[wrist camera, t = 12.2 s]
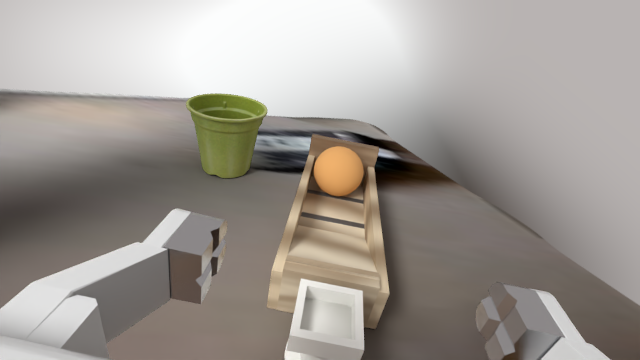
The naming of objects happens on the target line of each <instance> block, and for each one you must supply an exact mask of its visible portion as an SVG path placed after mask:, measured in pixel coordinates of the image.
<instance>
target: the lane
mask: <svg viewBox="0 0 640 360" xmlns="http://www.w3.org/2000/svg"><path fill="white" fill-rule="evenodd" d="M336 146H341V147H346V148H349V149H351V150H352V151H354V152H355V153H356V154H357V155H358V156H359V158H360V159H361V161H362V164H363V170H364V174H363V178H362V181H361V183H360V185H359V186H358V187H357V189H356V190H354V191H353V192H351V193H350V194H348V195H344V196H333V195H330V194H328V193H326V192H324V191H323V190H322V189H321V188H320V187H319V186H318V184H317V183H316V180H315V177H314V165H315V162H316V160H317V158H318V157H319V155H320V154H321V153H322V152H324V151H325V150H327V149H329V148H331V147H336ZM378 152H379V147H375V146H370V145H365V144H360V143H355V142H350V141H345V140H340V139H335V138H330V137H325V136H320V135H315V134H313V135H312V138H311V144H310V150H309V156H308V159H307V162H306V165H305V168H304V171H303V174H302V177H301V181H300V184H299V187H298V190H297V193H296V196H295V199H294V202H293V206H292V209H291V212H290V215H289V218H288V221H287V224H286V227H285V230H284V234H283V237H282V240H281V243H280V246H279V249H278V252H277V255H276V259H275V262H274V265H273V268H272V272H271V280H270V287H269V295H268V303H267V308H272V309H277V310H279V311H284V312H289V313H294V310H295V306H296V301H297V296H298V291H299V286H300V281H301V279H306V280H311V281H316V282H321V283H326V284H331V285H336V286H341V287H346V288H351V289H356V290H361V291H363V324H364V328H365V327H367V328H372V329H376V326H377V324H378V321H379V319H380V316H381V314H382V311H383V309H384V306H385V304H386V301H387V299H388V296H389V285H388V277H387V269H386V261H385V253H384V245H383V237H382V228H381V220H380V212H379V204H378V196H377V188H376V179H375V171H374V166H375V163H376V159H377V156H378Z"/></svg>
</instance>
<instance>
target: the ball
mask: <svg viewBox="0 0 640 360" xmlns="http://www.w3.org/2000/svg"><path fill="white" fill-rule="evenodd" d="M363 174H364V170H363V164H362V161H361V159H360V158H359V156H358V155H357V154H356V153H355V152H354V151H352V150H351V149H349V148H346V147H341V146H336V147H331V148H329V149H327V150H325V151H324V152H322V153H321V154H320V155H319V157H318V158H317V160H316V162H315V165H314V177H315V180H316V183H317V184H318V186H319V187H320V188H321V189H322V190H323V191H324V192H326V193H328V194H330V195H333V196H344V195H348V194H350V193H351V192H353V191H354V190H356V189H357V187H358V186H359V185H360V183H361V181H362V178H363Z"/></svg>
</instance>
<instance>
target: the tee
mask: <svg viewBox="0 0 640 360" xmlns="http://www.w3.org/2000/svg"><path fill="white" fill-rule="evenodd" d="M363 352H364V324H363V291H361V290H356V289H351V288H346V287H341V286H336V285H331V284H326V283H321V282H316V281H311V280H306V279H301V281H300V286H299V291H298V296H297V301H296V306H295V310H294V315H293V320H292V325H291V330H290V335H289V340H288V342H287V345H286V349H285V355H284V360H361V357H362V355H363Z"/></svg>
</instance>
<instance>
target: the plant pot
mask: <svg viewBox="0 0 640 360" xmlns="http://www.w3.org/2000/svg"><path fill="white" fill-rule="evenodd" d="M186 107H187V109H188V110H189V111H190V112H191V116H192V120H193V121H194V123H195V129H196V134H197V140H198V146H199V151H200V157H201V163H202V168H203V170H204V171H205V172H206V173H208V174H210V175H212V174H214V175H217V176H219V177H221V178H235V177H239V176H242V175H244V174H245V173H246V172H247V171H248V169H249V168H250V164H251V159H252V155H253V150H254V146H255V142H256V138H257V133H258V129H259V127H260V125H261V124H262V120H263V118H264V117H265V116H266V114H267V108H266V106H265V105H263V104H262V103H260V102H258V101H256V100H254V99H251V98H247V97H243V96H238V95H231V94H203V95H197V96H194V97H191V98H190V99H188V101H187V102H186Z"/></svg>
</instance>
